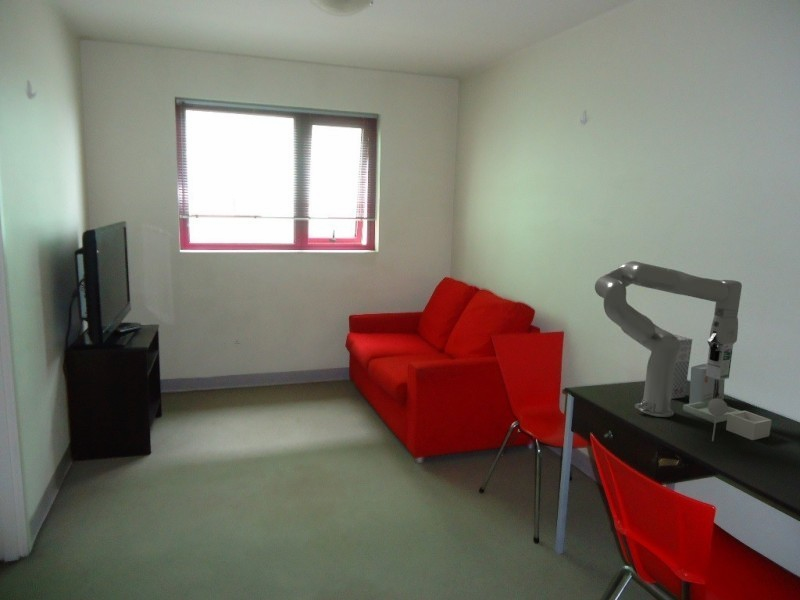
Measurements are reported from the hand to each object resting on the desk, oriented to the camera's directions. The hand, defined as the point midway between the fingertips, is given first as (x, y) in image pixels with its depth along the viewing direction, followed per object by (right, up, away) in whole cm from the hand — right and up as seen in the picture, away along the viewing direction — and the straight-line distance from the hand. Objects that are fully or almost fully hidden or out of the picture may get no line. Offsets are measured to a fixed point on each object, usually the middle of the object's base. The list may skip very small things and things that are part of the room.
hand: (719, 359), depth 208 cm
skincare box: (+5, -20, +18) cm, 27 cm away
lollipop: (-15, -26, -22) cm, 37 cm away
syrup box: (0, -7, +1) cm, 7 cm away
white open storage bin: (+2, -25, -14) cm, 28 cm away
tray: (-1, -22, +4) cm, 22 cm away
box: (-7, -18, +25) cm, 31 cm away
